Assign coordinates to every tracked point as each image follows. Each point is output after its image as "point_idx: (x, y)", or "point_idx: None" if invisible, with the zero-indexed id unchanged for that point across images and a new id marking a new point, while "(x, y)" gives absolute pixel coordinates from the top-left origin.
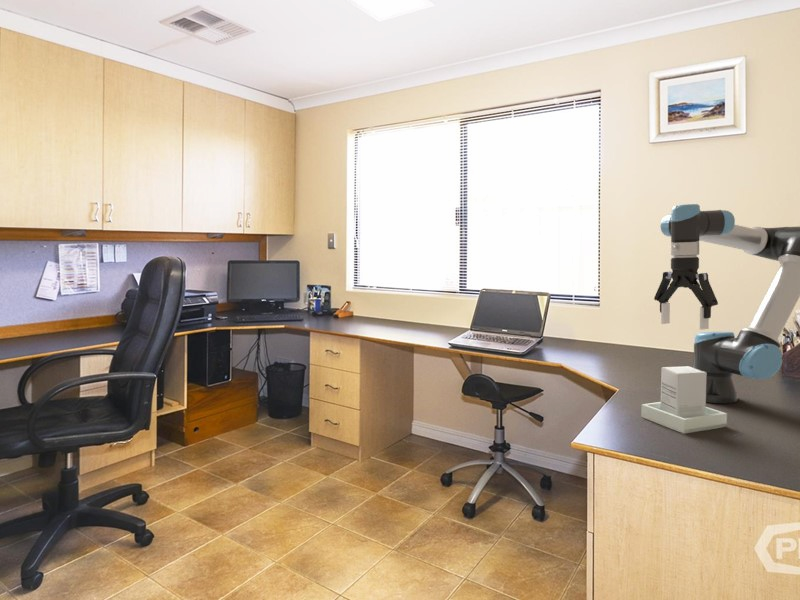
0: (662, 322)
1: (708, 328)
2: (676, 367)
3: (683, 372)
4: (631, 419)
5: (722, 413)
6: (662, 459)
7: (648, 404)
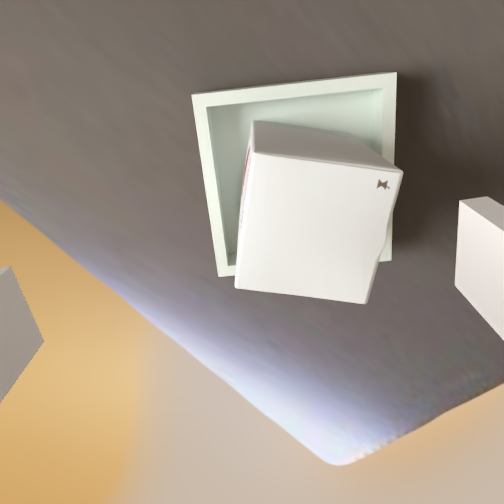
0: (30, 351)
1: (489, 198)
2: (269, 237)
3: (361, 273)
4: (233, 296)
5: (390, 90)
6: (478, 387)
7: (225, 257)
